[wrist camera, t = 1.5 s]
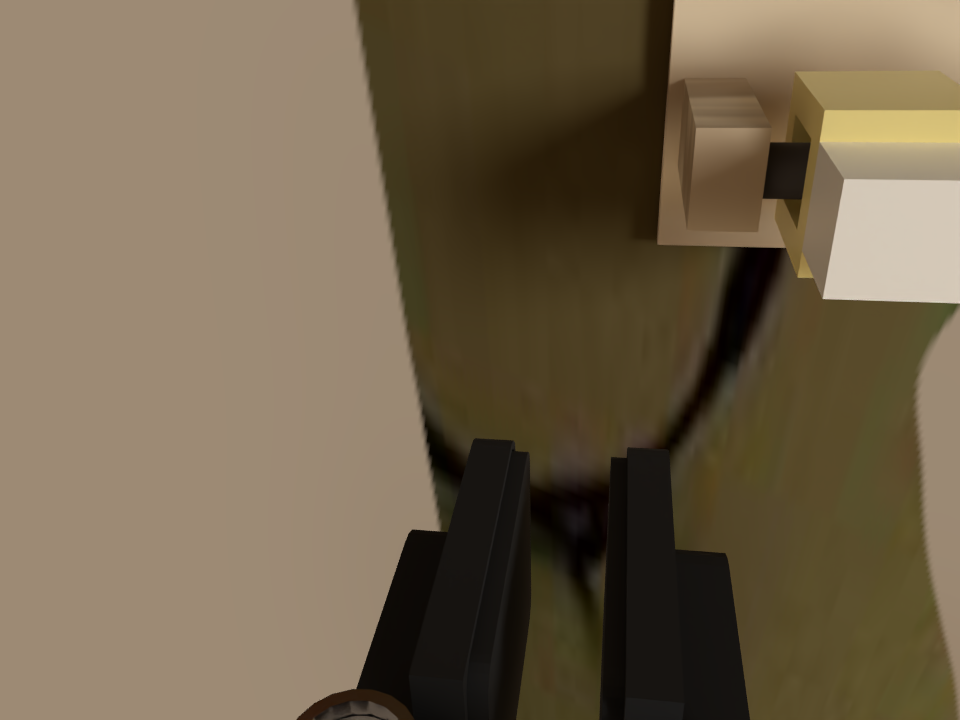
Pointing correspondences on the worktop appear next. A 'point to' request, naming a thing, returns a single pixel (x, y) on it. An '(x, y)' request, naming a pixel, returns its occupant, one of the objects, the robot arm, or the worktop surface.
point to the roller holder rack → (770, 100)
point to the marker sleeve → (876, 185)
